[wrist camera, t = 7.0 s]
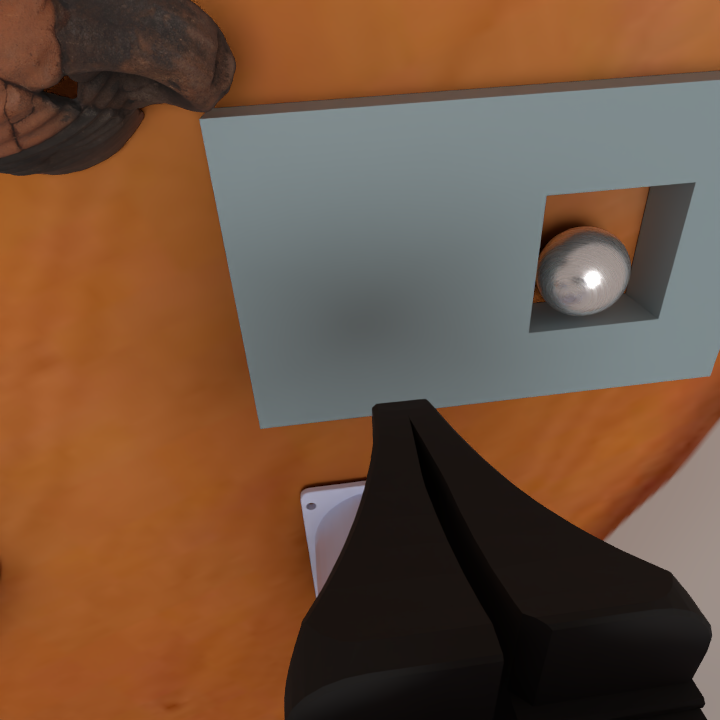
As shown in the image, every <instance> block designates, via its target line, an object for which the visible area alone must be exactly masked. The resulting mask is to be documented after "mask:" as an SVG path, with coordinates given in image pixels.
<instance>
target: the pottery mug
mask: <svg viewBox="0 0 720 720" xmlns="http://www.w3.org/2000/svg"><path fill="white" fill-rule="evenodd" d="M235 69H236V62H235V58H234V56H233V54H232V52H231V50H230V48H229V46H228V44H227V42H226V39H225V37H224V35H223V33H222V32H221V30H220V29H219V27H218V26H217V24H216V23H215V22H214V21H213V19H212V18H211V17H210V16H209V15H208V14H207V13H205V12H204V11H203V10H202V9H201V8H200V7H198V6H197V5H196V4H195V3H193V2H192V1H190V0H0V173H6V174H12V175H17V176H24V175H31V174H50V175H60V174H68V173H72V172H77V171H82V170H84V169H87V168H89V167H91V166H93V165H96V164H98V163H100V162H102V161H104V160H106V159H108V158H109V157H110V156H112V155H113V154H115V153H116V152H117V151H118V150H120V149H121V148H122V147H123V145H124V144H125V143H126V141H127V140H128V139H129V138H130V137H131V136H132V134H133V133H134V132H135V130H136V129H137V128H138V126H139V125H140V123H141V121H142V120H143V118H144V113H143V112H142V111H141V110H140V109H139V108H143V107H145V106H148V105H152V104H162V103H167V104H171V105H175V106H178V107H181V108H184V109H187V110H191V111H196V112H209V111H211V110H212V109H213V108H214V106H215V105H216V104H217V102H218V101H219V100H221V99H222V98H223V97H224V95H226V94H227V93H228V92H229V89H230V86H231V84H232V81H233V76H234V73H235ZM66 75H67V76H69V78H70V79H72V80H74V81H76V82H78V90H77V94H78V95H77V97H76V98H74V99H70V98H68V97H64V96H59V95H56V94H54V93H47V92H45V91H43V90H44V89H46V88H50V87H52V86H54V85H56V84H58V83H59V82H60V80H61V79H62V78H63V77H64V76H66Z"/></svg>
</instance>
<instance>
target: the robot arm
mask: <svg viewBox="0 0 720 720" xmlns="http://www.w3.org/2000/svg"><path fill="white" fill-rule="evenodd" d="M372 427H373V448H372V455H371V461H370V466H369V471H368V475H367V479H366V481H360V482H352V483H344V484H336V485H328V486H320V487H312V488H307V489H304V490H303V491H302V492H301V495H300V498H301V506H302V512H303V518H304V525H305V531H306V537H307V543H308V550H309V556H310V562H311V568H312V574H313V581H314V587H315V593H316V600H315V601H314V603H313V604H312V606H311V608H310V609H309V611H308V613H307V614H306V616H305V618H304V619H303V621H302V624H301V628H300V631H299V634H298V637H297V641H296V644H295V647H294V651H293V654H292V658H291V662H290V666H289V670H288V675H287V680H286V687H285V697H284V711H285V720H707V719H706V717H705V715H704V714H703V712H702V711H701V709H700V708H703V707H704V705H705V701H704V697H703V696H702V694H701V693H700V691H699V689H698V688H697V686H696V684H695V683H694V681H693V680H692V678H693V676H694V674H695V673H696V671H697V669H698V667H699V665H700V663H701V662H702V660H703V658H704V656H705V654H706V652H707V650H708V647H709V644H710V641H711V638H712V631H711V625H710V624H709V622H708V621H707V619H706V618H705V617H704V615H703V614H702V613H701V611H700V610H699V608H698V607H697V605H696V604H695V602H694V601H693V599H692V598H691V597H690V595H689V594H688V593H687V591H686V590H685V589H684V588H683V587H682V586H681V584H680V583H679V582H678V581H677V579H676V578H675V577H674V576H673V574H672V573H671V572H669V571H667V570H664V569H662V568H660V567H658V566H655V565H653V564H651V563H649V562H646V561H644V560H642V559H639V558H637V557H635V556H633V555H630V554H629V553H626V552H624V551H622V550H620V549H618V548H615V547H614V546H612V545H610V544H608V543H606V542H604V541H602V540H600V539H598V538H596V537H595V536H593V535H591V534H589V533H587V532H585V531H584V530H582V529H580V528H578V527H576V526H575V525H573V524H571V523H570V522H568V521H566V520H565V519H563V518H562V517H560V516H558V515H557V514H555V513H554V512H552V511H550V510H549V509H547V508H546V507H544V506H543V505H541V504H540V503H538V502H537V501H535V500H534V499H532V498H531V497H530V496H528V495H527V494H526V493H524V492H523V491H521V490H520V489H519V488H517V487H516V486H515V485H514V484H512V483H511V482H510V481H509V480H507V479H506V478H505V477H504V476H503V475H501V474H500V473H499V472H498V471H497V470H496V469H494V468H493V467H492V466H491V465H490V464H489V463H488V462H487V461H485V460H484V459H483V458H482V457H481V456H480V455H479V454H478V453H477V452H476V451H475V450H474V449H473V448H472V447H471V446H470V445H469V444H468V443H467V442H466V441H465V440H464V439H463V438H462V437H461V436H460V435H459V434H458V433H457V432H456V431H455V430H454V429H453V428H452V427H451V426H450V425H449V423H448V422H447V421H446V420H445V419H444V418H443V417H442V416H441V415H440V413H439V412H438V411H437V410H436V409H435V408H434V406H433V405H432V404H431V403H430V402H429V401H428V400H427V399H417V400H408V401H398V402H388V403H379V404H376V405H375V406H373V407H372ZM309 503H314V504H309Z"/></svg>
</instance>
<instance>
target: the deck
mask: <svg viewBox="0 0 720 720" xmlns="http://www.w3.org/2000/svg"><path fill="white" fill-rule="evenodd" d="M199 120H200V125H201V130H202V135H203V140H204V145H205V151H206V156H207V161H208V166H209V171H210V176H211V181H212V186H213V191H214V196H215V201H216V206H217V211H218V216H219V221H220V226H221V232H222V237H223V242H224V247H225V252H226V257H227V262H228V267H229V272H230V277H231V282H232V287H233V292H234V297H235V302H236V308H237V313H238V318H239V323H240V328H241V333H242V338H243V343H244V348H245V353H246V358H247V363H248V368H249V373H250V378H251V384H252V389H253V394H254V399H255V404H256V409H257V414H258V419H259V424H260V429H263V428H271V427H280V426H288V425H297V424H305V423H314V422H323V421H331V420H340V419H348V418H357V417H365V416H372V407H373V406H375V405H376V404H379V403H388V402H398V401H408V400H417V399H427V400H428V401H429V402H430V403H431V404H432V405H433V406H434V408H442V407H450V406H459V405H467V404H476V403H484V402H493V401H501V400H510V399H518V398H527V397H535V396H544V395H552V394H561V393H569V392H578V391H586V390H595V389H603V388H612V387H621V386H629V385H638V384H646V383H655V382H663V381H672V380H680V379H689V378H697V377H706V376H710V374H711V372H712V369H713V366H714V363H715V360H716V358H717V355H718V352H719V349H720V71H708V72H695V73H682V74H668V75H655V76H641V77H628V78H614V79H601V80H587V81H574V82H560V83H547V84H533V85H520V86H506V87H493V88H479V89H466V90H453V91H439V92H426V93H412V94H399V95H385V96H372V97H358V98H345V99H331V100H318V101H304V102H291V103H277V104H264V105H250V106H237V107H224V108H213V109H212V110H211V111H209V112H206V113H205V114H204V115H203V116H202V117H201V118H200V119H199ZM648 186H650V190H649V195H648V199H647V203H646V208H645V212H644V216H643V221H642V225H641V229H640V234H639V238H638V242H637V247H636V251H635V255H634V260H633V264H632V268H631V274H630V279H629V282H628V286H627V290H626V294H622V295H621V297H620V298H619V299H618V300H617V301H616V302H615V303H614V304H613V305H611V306H610V307H608V308H607V309H605V310H603V311H601V312H598V313H596V314H592V315H586V316H573V315H568V314H565V313H562V312H560V311H558V310H556V309H554V308H553V307H551V306H550V305H549V304H548V303H547V302H540V303H533V295H534V288H535V280H536V272H537V265H538V257H539V249H540V242H541V234H542V226H543V219H544V211H545V203H546V196H548V195H559V194H570V193H581V192H593V191H604V190H615V189H626V188H637V187H648Z"/></svg>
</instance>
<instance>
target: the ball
mask: <svg viewBox="0 0 720 720" xmlns="http://www.w3.org/2000/svg"><path fill="white" fill-rule="evenodd" d="M630 274H631V263H630V258H629V255H628V252H627V250H626V248H625V246H624V245H623V244H622V242H621V241H620V240H619V239H618V238H617V237H616V236H614V235H613V234H611V233H610V232H608V231H606V230H604V229H600V228H597V227H590V226H582V227H575V228H571V229H568V230H566V231H564V232H562V233H560V234H558V235H557V236H555V237H554V238H553V239H551V240H550V241H549V242H548V243H547V245H546V246H545V247H544V248H543V250H542V252H541V253H540V255H539V257H538V265H537V272H536V284H537V287H538V290H539V292H540V294H541V296H542V297H543V299H544V300H545V301H546V302H547V303H548V304H549V305H550V306H551V307H553V308H554V309H556V310H558V311H560V312H562V313H565V314H568V315H573V316H586V315H592V314H596V313H598V312H601V311H603V310H605V309H607V308H608V307H610V306H611V305H613V304H614V303H615V302H616V301H617V300H618V299H619V298H620V297H621V295H622V294H623V293H624V291H625V289H626V287H627V285H628V282H629V279H630Z"/></svg>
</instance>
